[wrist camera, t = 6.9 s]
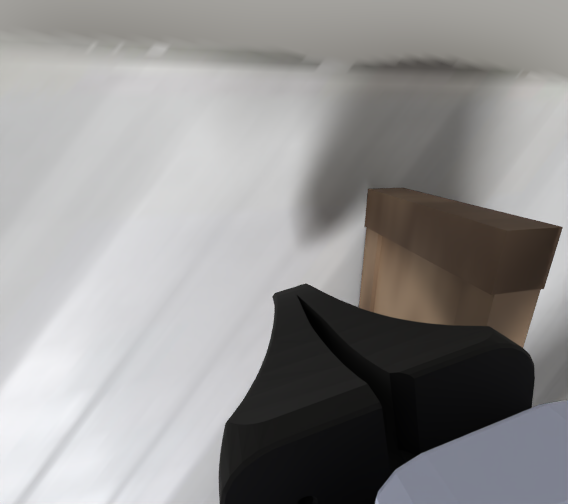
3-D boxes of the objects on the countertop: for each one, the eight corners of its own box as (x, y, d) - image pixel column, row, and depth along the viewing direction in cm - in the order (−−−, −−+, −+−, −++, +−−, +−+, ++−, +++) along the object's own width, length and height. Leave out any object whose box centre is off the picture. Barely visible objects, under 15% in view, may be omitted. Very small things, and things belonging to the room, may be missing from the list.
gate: (369, 444, 18) (450, 593, 12) (343, 449, 18) (414, 606, 12) (402, 187, 14) (562, 227, 8) (367, 188, 13) (506, 230, 7)
